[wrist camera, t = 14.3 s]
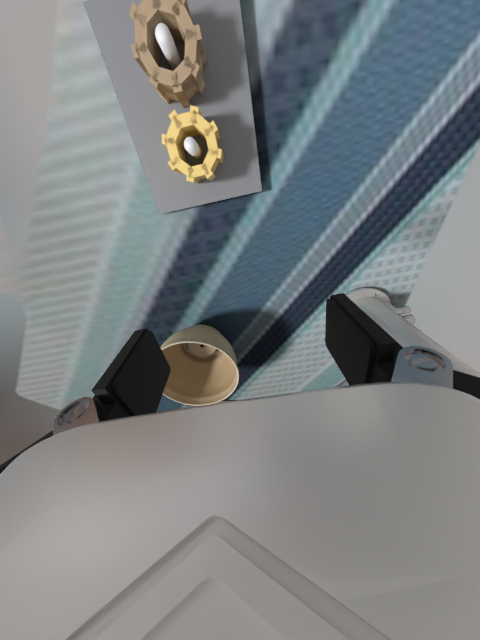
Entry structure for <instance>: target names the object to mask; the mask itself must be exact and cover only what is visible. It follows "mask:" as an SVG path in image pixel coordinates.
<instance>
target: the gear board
mask: <svg viewBox="0 0 480 640" xmlns="http://www.w3.org/2000/svg"><path fill="white" fill-rule="evenodd" d="M142 1H143V0H90V1H87V2H84V6H85V9H86V11H87V14H88V17H89V20H90V23H91V25H92V28H93V31H94V34H95V36H96V39H97V42H98V45H99V48H100V50H101V53H102V56H103V59H104V62H105V64H106V67H107V70H108V73H109V75H110V78H111V81H112V84H113V87H114V89H115V92H116V95H117V98H118V101H119V103H120V106H121V109H122V112H123V115H124V117H125V120H126V123H127V126H128V128H129V131H130V134H131V137H132V140H133V142H134V145H135V148H136V151H137V154H138V156H139V159H140V162H141V165H142V167H143V170H144V173H145V176H146V179H147V181H148V184H149V187H150V190H151V193H152V195H153V198H154V201H155V204H156V206H157V209H158V212H159V214H164V213H168V212H172V211H177V210H181V209H185V208H190V207H194V206H199V205H203V204H207V203H212V202H216V201H220V200H225V199H229V198H234V197H238V196H242V195H247V194H251V193H255V192H260V191H262V186H261V178H260V169H259V161H258V152H257V144H256V135H255V127H254V118H253V110H252V101H251V92H250V84H249V75H248V67H247V58H246V50H245V41H244V33H243V24H242V16H241V7H240V0H187V3H188V7H189V11H190V15H191V19H192V23H193V25H197V24H199V27H200V31H201V36H202V41H203V46H204V50H205V55H206V61H207V64H205V65H203V71H202V76H203V79H204V83H205V88H204V91H203V93H202V95H201V94H200V93H199V92H197V93H196V94H195V95H194V96H193V97H192V98H191V99H190V100H189V103H190V105H192V106H195V107H199V109H200V112H201V114H202V116H203V118H204V119H205V120H206V121H207V122H209V123H211V122H212V121H214V123H215V125H216V126H217V128H218V131H219V135H220V139H219V140H218V141H217V142H218V147H219V149H222V152H223V155H224V156H223V163H219V164H218V166H217V168H216V170H215V172H214V174H215V176H216V177H215V178H214V179H212V180H211V181H210V180H209V179H207V178H204V179H200V180H199V184H198V183H194V182H190V181H186V175H185V174H184V173H178V172H176V171H173V170H172V169H171V167H170V166H169V164H168V162H169V161H170V160H171V159H170V156H169V153H168V149H167V147H166V146H164V145H163V144H162V134H165V135H166V134H167V132H168V129H169V126H170V123H171V119H170V117H169V116H168V115H169V114H170V113H171V112H172V111H173V110H174V109H175V111H176V112H177V114H182V113H186V112H189V111H190V107H186V108H183V107H182V105H181V103H180V102H178V101H174V100H171V99H170V101H169V104H168V103H167V102H166V101H164V100H163V99H162V98H161V97H160V95H159V94H158V93H157V91H156V90H155V89H154V88H153V86H152V85H151V84H150V82H149V77H148V76H147V75H146V73H145V72H144V70H143V69H142V68H141V66H140V65H139V64H138V62H137V61H136V60H135V58H134V55H133V51H132V48H131V45H132V44H135V24H134V23H133V21H132V19H131V18H130V16H129V14H130V10H131V6H132V2H133V3H134V4H135V5H136V6H137V7H138V6H139V5H140V4H141V2H142ZM155 36H156V39H157V41H158V43H159V45H160V47H161V49H162V51H161V68H164V69H168V70H171V71H174V70H175V69H176V68H177V67H178V65H179V64H180V63H181V62H182V61H183V60H184V55H185V45H184V44H181V43H177V42H174V41H173V38H172V36H171V33H170V31H169V29H168V27H167V26H166V25H165V24H164V23H159V24H158V25H157V26H156V29H155ZM183 150H184V153H185V157H186V161H187V163H188V164H189V165H190V166H196V165H200V164H203V162H204V160H205V158H206V155H207V153H208V151H209V150H208V146H207V141H206V140H205V139H204V138H203V137H202V136H201V135H195V136H191V137H187V138H186V139H185V141H184V149H183Z"/></svg>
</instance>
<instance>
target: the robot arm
mask: <svg viewBox="0 0 480 640" xmlns="http://www.w3.org/2000/svg"><path fill="white" fill-rule="evenodd" d="M410 310H411V309H410V307H408V306H404V307H400V308H396V307H394V306H393V305H391V301H390V299H389V297H388V296H387V295H386V294H385V293H383V292H382V291H380V290H378V289H375V288H360V289H356V290H353V291H351V292H349V293H347V294H344V293H342V294H336V295H331V296H330V299H327V304H326V337H325V342H326V346H327V348H328V350H329V352H330V353H331V355H332V357H333V358H334V360H335V362H336V363H337V365H338V367H339V368H340V370H341V372H342V373H343V375H344V377H345V378H346V380H347V382H348V383H349V385H348V386H341V387H333V388H325V389H317V390H310V391H303V392H296V393H288V394H281V395H274V396H267V397H260V398H253V399H246V400H239V401H232V402H225V403H218V404H211V405H204V406H197V407H190V408H184V409H177V410H170V411H164V412H157V413H156V411H157V408H158V405H159V402H160V400H161V397H162V394H163V391H164V388H165V386H166V383H167V380H168V377H169V375H170V371H171V370H170V365H169V364H168V362H167V360H166V358H165V356H164V354H163V352H162V350H161V348H160V346H159V344H158V342H157V340H156V338H155V336H154V334H153V333H152V331H149V330H148V329H142V330H137V331H135V332H134V333H133V334H132V336H131V337H130V339H129V340H128V341H127V343H126V344H125V345H124V347H123V348H122V349H121V351H120V352H119V354H118V355H117V356H116V358H115V359H114V360H113V362H112V363H111V365H110V366H109V367H108V369H107V370H106V371H105V373H104V374H103V375H102V377H101V378H100V380H99V381H98V382H97V384H96V385H95V386H94V388H93V389H92V392H93V393H94V394H95V396H94V397H93V398H92V397H82V398H79V399H77V400H75V401H73V402H71V403H70V404H68V405H67V406H66V407H65V408H63V409H62V410H61V411H60V412H59V414H58V415H57V416H56V418H55V419H54V422H53V431H51V432H50V433H48V434H47V435H45V436H44V437H42V438H41V439H39V440H38V441H36V442H35V443H33V444H32V445H30V446H29V447H27V448H26V449H24V450H23V451H21V452H20V453H18V454H17V455H15V456H14V457H12V458H11V459H9V460H8V461H6V462H5V463H3V464H2V465H0V640H480V373H479V372H477V371H476V370H474V369H473V368H471V367H470V366H468V365H467V364H465V363H464V362H463V361H461V360H460V359H458V358H457V357H455V356H454V355H453V354H451V353H450V352H449V351H447V350H446V349H445V348H443V347H442V346H440V345H439V344H438V343H436V342H435V341H433V340H432V339H431V338H429V337H428V336H427V335H425V334H424V333H422V332H421V331H420V330H418V329H417V328H416V327H415V326H413V325H412V324H413V323H414V322H415V318H414V316H413V315H405V316H400V315H398V314H405V313H409V312H410Z"/></svg>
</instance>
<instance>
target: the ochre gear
mask: <svg viewBox="0 0 480 640" xmlns="http://www.w3.org/2000/svg"><path fill="white" fill-rule="evenodd" d="M168 116H169V117H170V119H171V123H170V126H169V129H168V132H167V134H166V135H165V134H162V144H163V145H164V146H166V147H167V149H168V153H169V156H170V159H171V160H170V161H169V162H168V164H169V166H170V167H171V169H172V170H173V171H176V172H178V173H184V174H185V175H186V181H190V182H194V183H198V184H199V180H200V179H204V178H207V179H209V180H210V181H211V180H212V179H214V178H215V177H216V176H215V174H214V172H215V170H216V168H217V166H218V164H219V163H223V156H224V155H223V152H222V149H219V147H218V142H217V141H218V140H219V139H220V135H219V131H218V128H217V126H216V125H215V123H214V121H212V122H211V123H209V122H207V121H206V120H205V119H204V118H203V116H202V114H201V112H200V109H199V107H195V106H192V105H190V111H189V112H186V113H182V114H177V112H176V111H175V109H174V110H173V111H172V112H171V113H170V114H169V115H168ZM195 135H201V136H202V137H203V138H204V139H205V140H206V141H207V146H208V150H209V151H208V153H207V155H206V158H205V160H204V162H203V164H200V165H196V166H190V165H189V164H188V163H187V161H186V157H185V153H184V150H183V149H184V141H185V139H186V138H187V137H191V136H195Z"/></svg>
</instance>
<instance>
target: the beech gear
mask: <svg viewBox="0 0 480 640" xmlns="http://www.w3.org/2000/svg"><path fill="white" fill-rule="evenodd" d="M129 16H130V18H131V19H132V21H133V23H134V24H135V44H132V45H131V48H132V51H133V55H134V58H135V60H136V61H137V62H138V64H139V65H140V66H141V68H142V69H143V70H144V72H145V73H146V75H147V76H148V77H149V82H150V84H151V85H152V86H153V88H154V89H155V90H156V91H157V93H158V94H159V95H160V97H161V98H162V99H163V100H164V101H166V102H167V103H168V104H169V101H170V99H171V100H174V101H178V102H180V103H181V105H182V107H183V108H186V107H190V103H189V100H190V99H191V98H192V97H193V96H194V95H195V94H196V93H197V92H199V93H200V94H201V95H202V93H203V91H204V88H205V83H204V79H203V76H202V71H203V65H205V64H207V61H206V55H205V50H204V46H203V41H202V36H201V31H200V27H199V24H197V25H193V23H192V19H191V15H190V11H189V7H188V3H187V0H143V1H142V2H141V4H140V5H139V6H138V7H137V6H136V5H135V4H134V3H133V2H132V6H131V10H130V14H129ZM159 23H164V24H165V25H166V26H167V27H168V29H169V31H170V33H171V36H172V38H173V41H174V42H177V43H181V44H184V45H185V55H184V60H183V61H182V62H181V63H180V64H179V65H178V67H177V68H176V69H175V70H174V71H171V70H168V69H164V68H161V51H162V49H161V47H160V45H159V43H158V41H157V39H156V36H155V29H156V26H157V25H158V24H159Z"/></svg>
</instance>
